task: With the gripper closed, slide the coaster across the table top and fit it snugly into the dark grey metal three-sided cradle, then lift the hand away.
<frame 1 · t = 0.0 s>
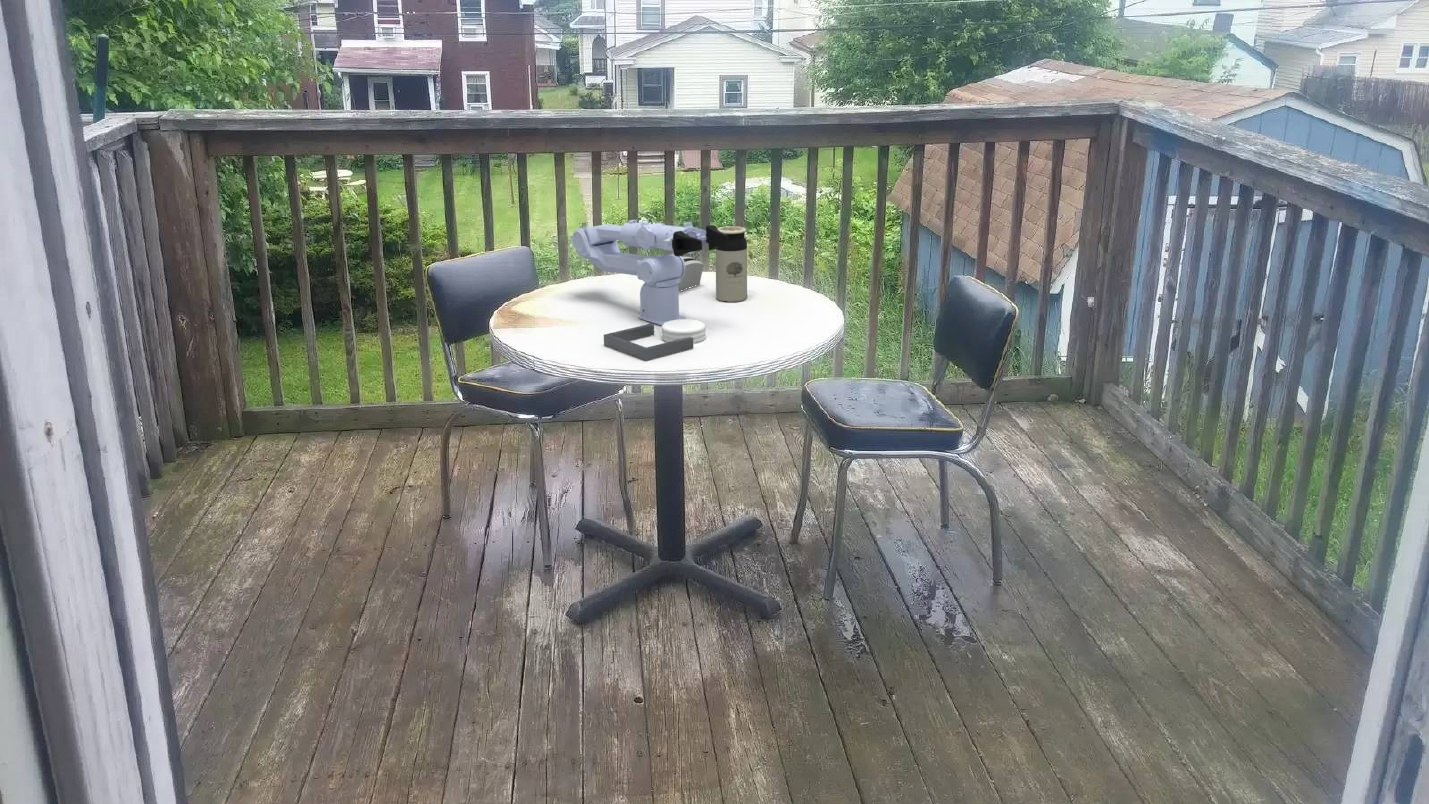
hand: (714, 242, 248), 22 cm above the table, tool horizontal, fingers open, 7 cm apart
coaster: (683, 340, 255), on the table
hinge: (677, 292, 296), on the table
travel mug: (731, 299, 287), on the table
cradle: (652, 346, 249), on the table
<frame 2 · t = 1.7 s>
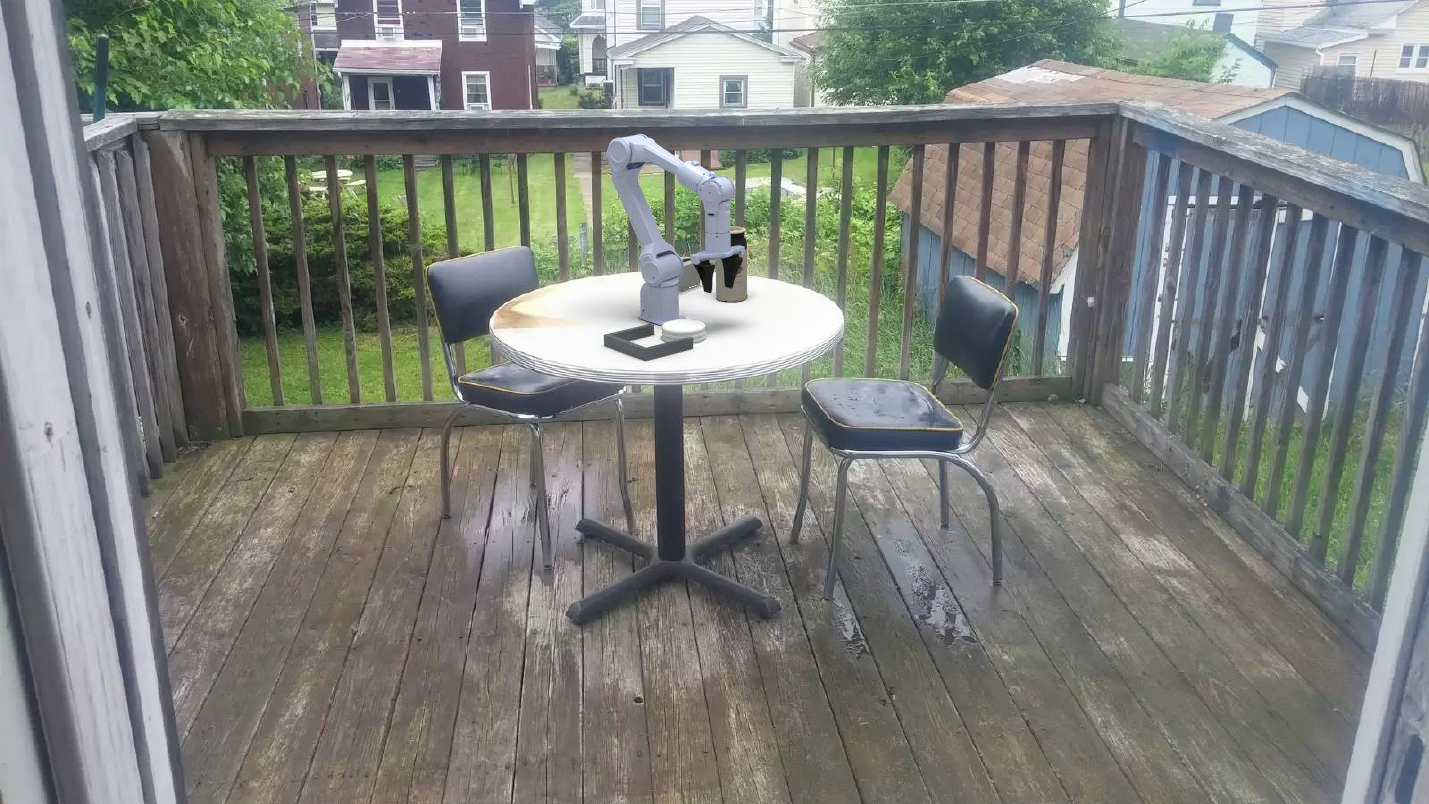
hand: (718, 290, 258), 9 cm above the table, tool pointing down, fingers open, 6 cm apart
nothing on the table moved.
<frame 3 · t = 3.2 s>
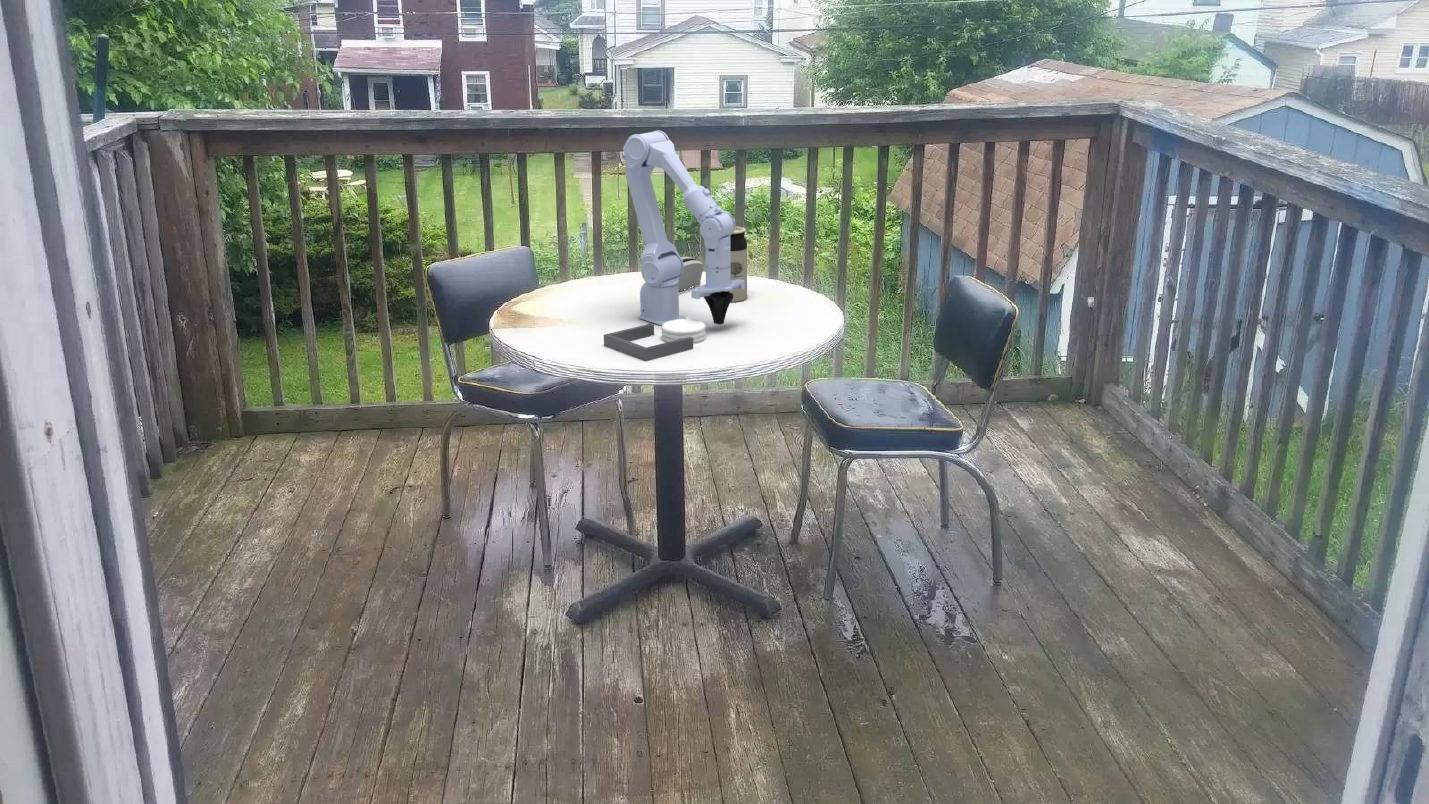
hand: (718, 323, 260), 1 cm above the table, tool pointing down, fingers closed
nothing on the table moved.
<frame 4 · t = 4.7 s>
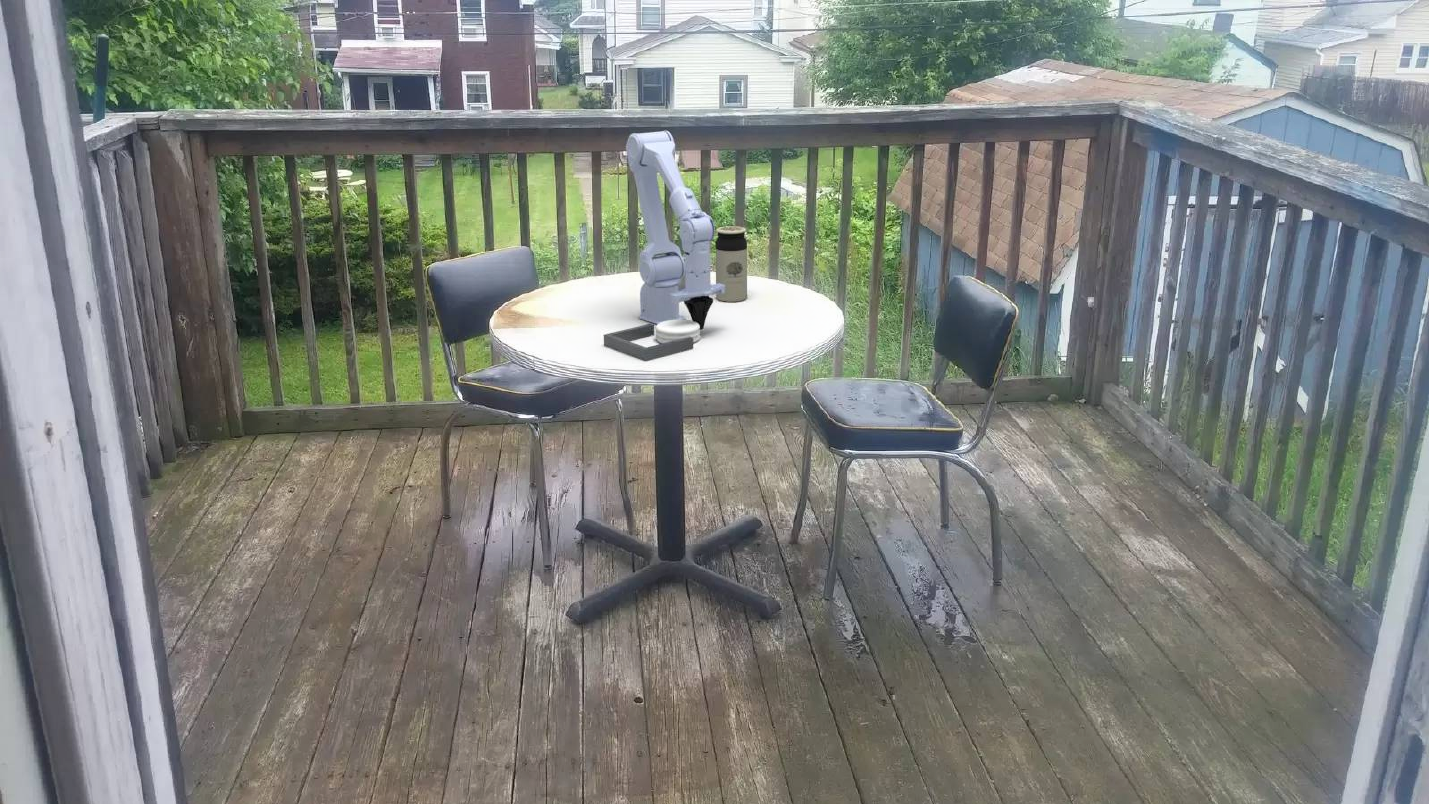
hand: (698, 328, 257), 1 cm above the table, tool pointing down, fingers closed
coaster: (678, 340, 254), on the table, touching gripper
everything else where it was.
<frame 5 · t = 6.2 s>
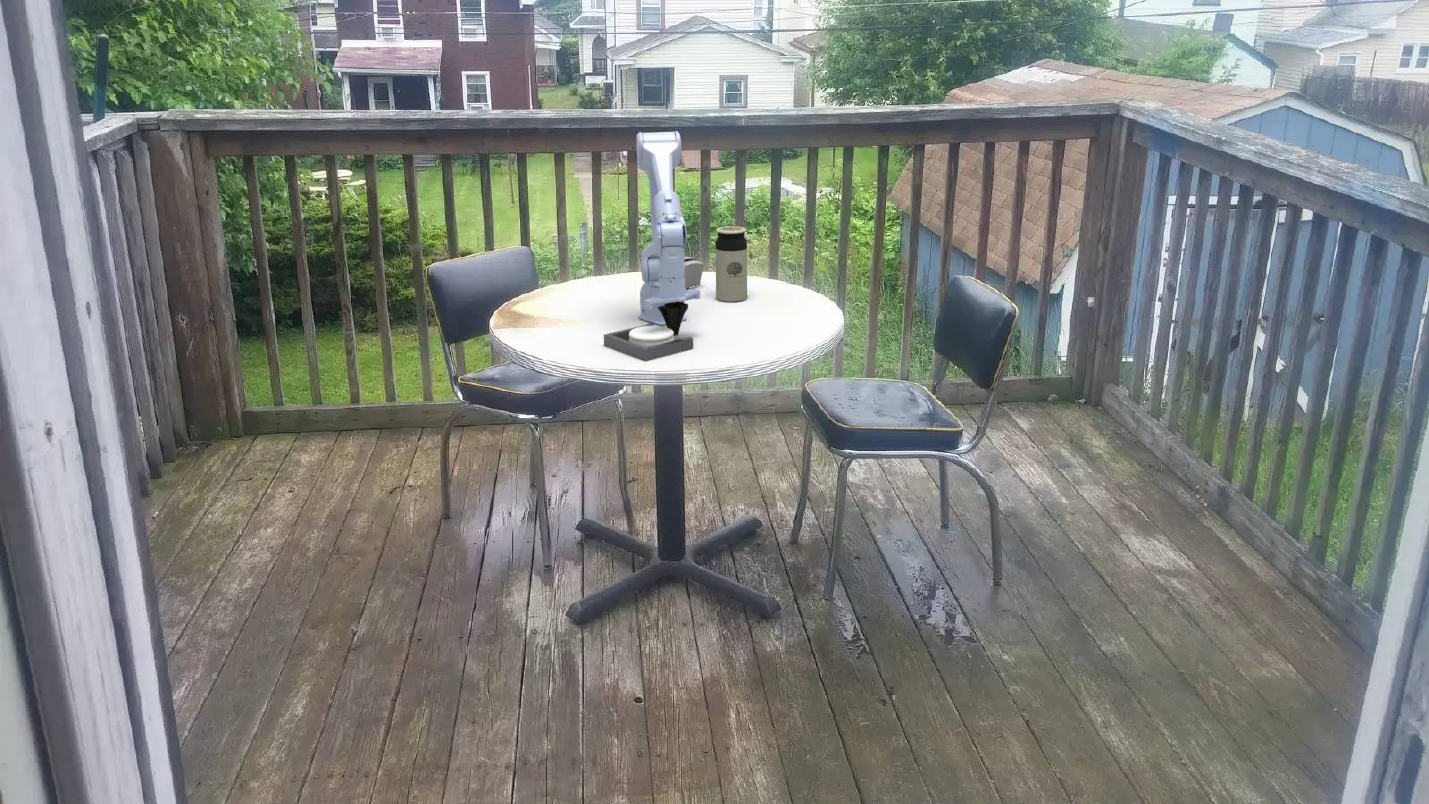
hand: (673, 334, 252), 1 cm above the table, tool pointing down, fingers closed
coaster: (651, 347, 249), on the table, touching gripper
everything else where it was.
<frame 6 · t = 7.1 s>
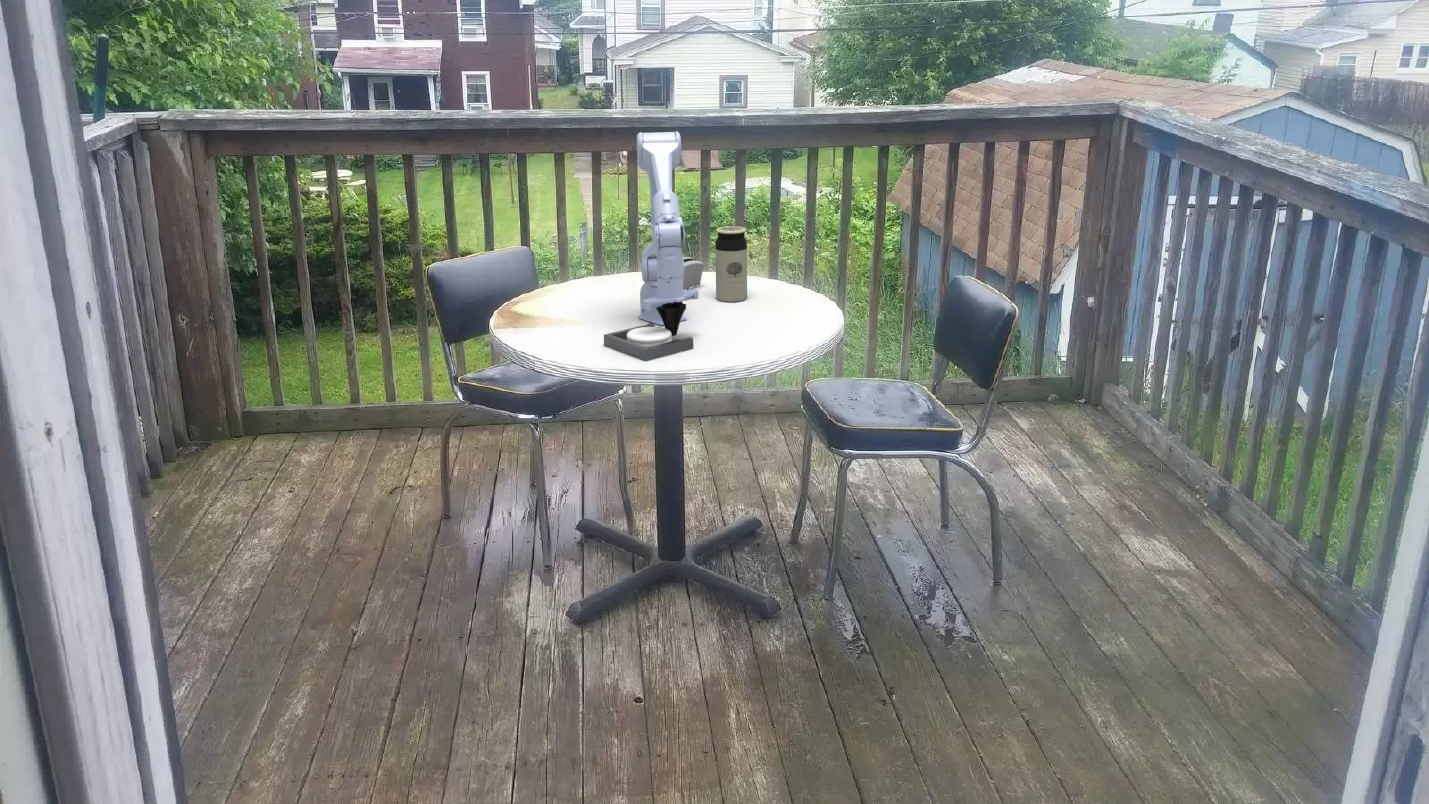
hand: (671, 335, 252), 1 cm above the table, tool pointing down, fingers closed
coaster: (649, 348, 249), on the table
everything else where it was.
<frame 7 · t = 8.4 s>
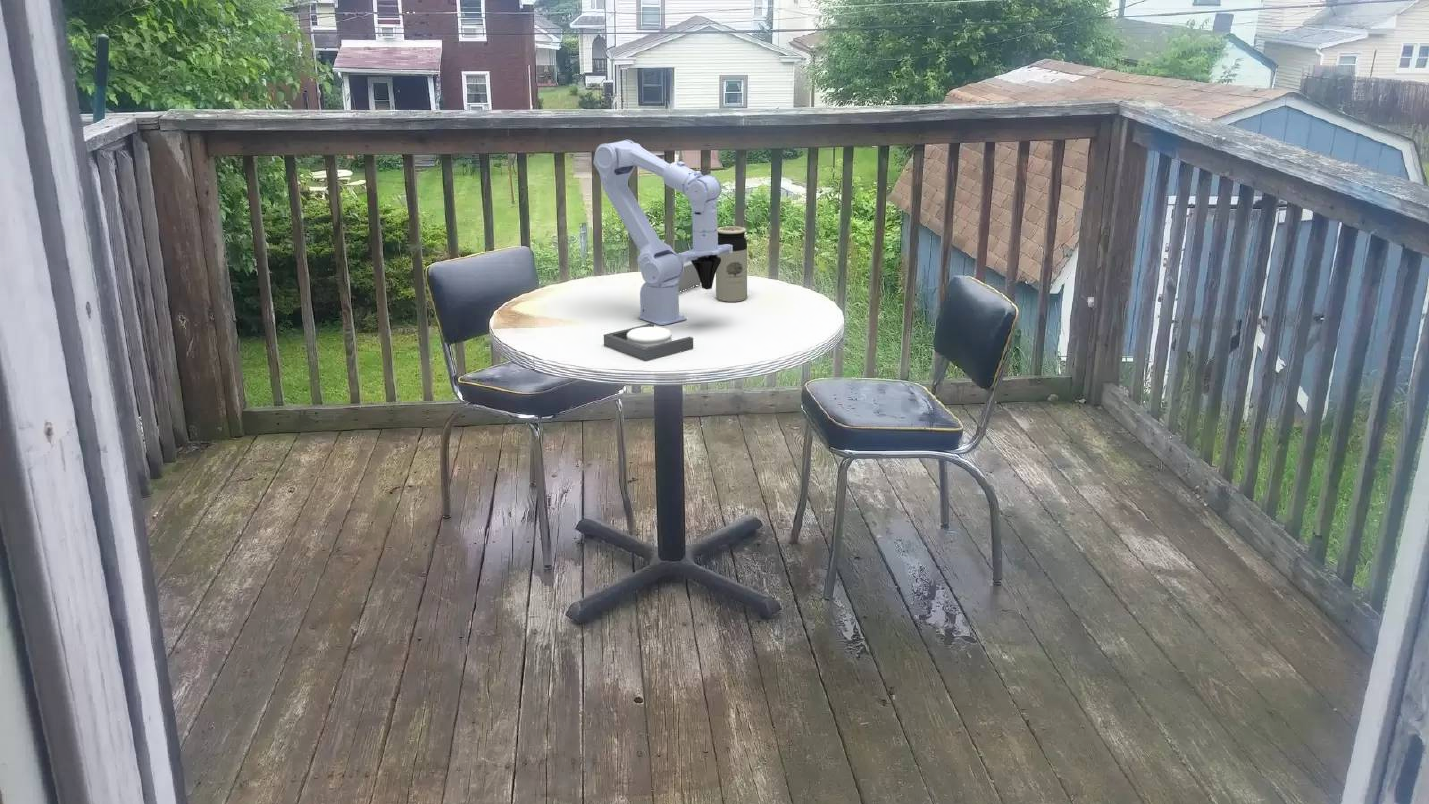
hand: (706, 288, 259), 9 cm above the table, tool pointing down, fingers closed
nothing on the table moved.
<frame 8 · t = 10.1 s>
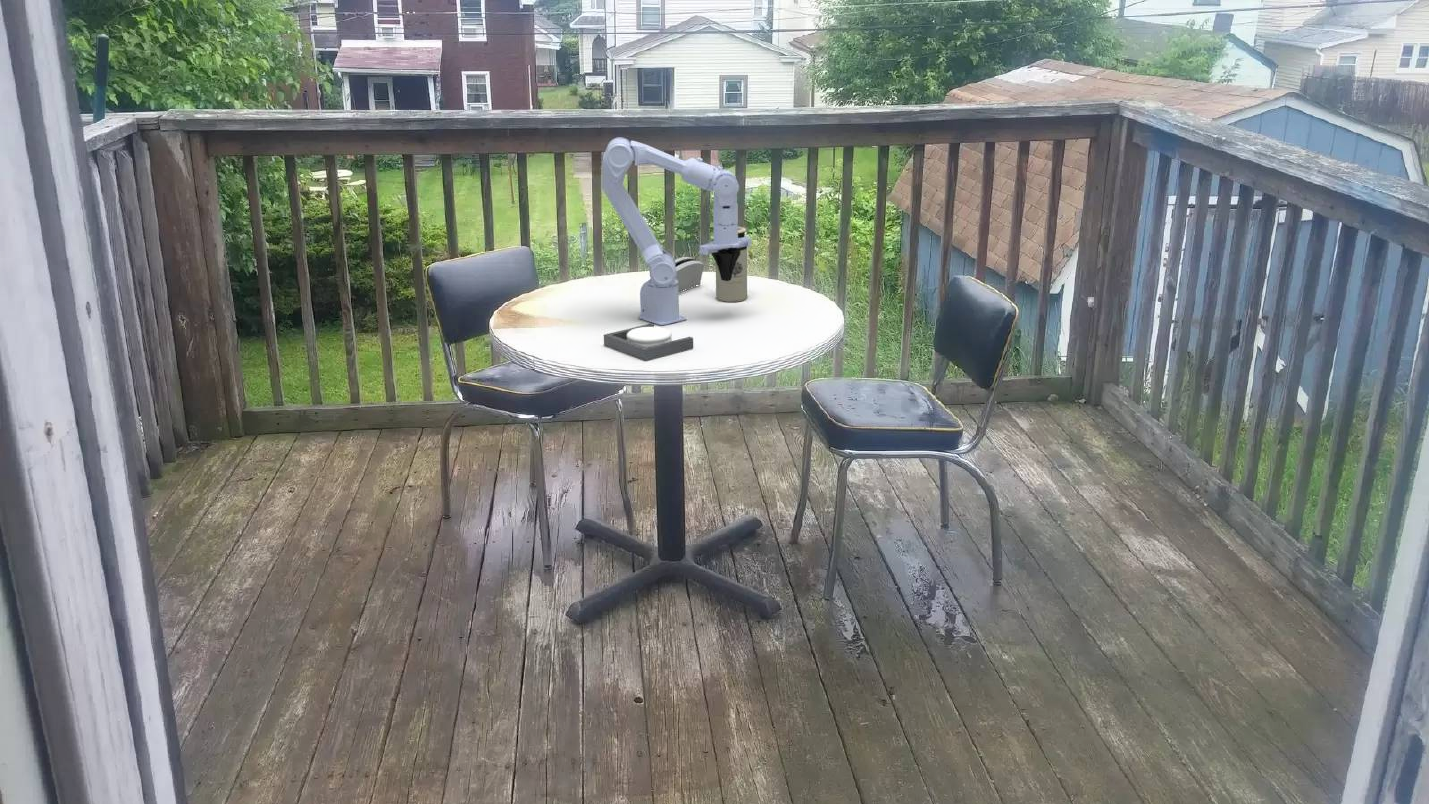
hand: (726, 280, 267), 9 cm above the table, tool pointing down, fingers closed
nothing on the table moved.
at the end: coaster 0.3 cm off-centre on the cradle, point -0.5 cm above the cradle's base; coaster tilted 0° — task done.
